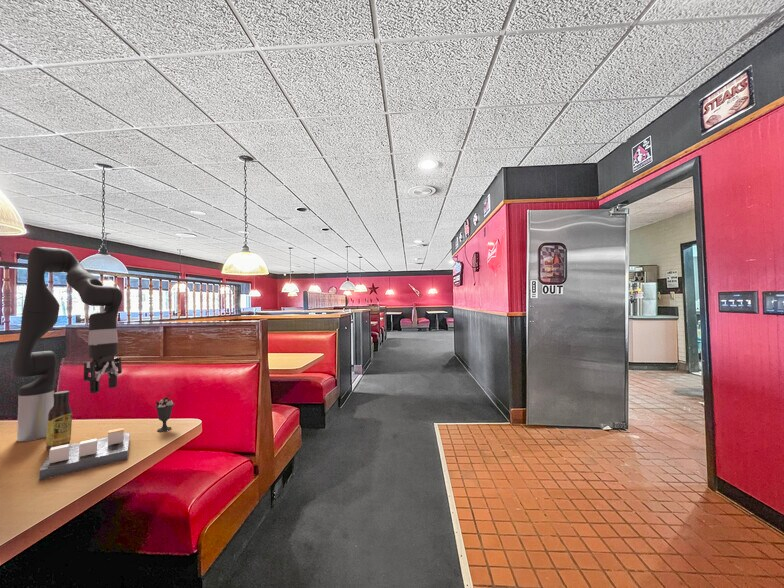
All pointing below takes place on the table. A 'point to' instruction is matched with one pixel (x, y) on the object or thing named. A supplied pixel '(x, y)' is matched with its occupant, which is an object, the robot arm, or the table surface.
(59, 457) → the right breaker handle
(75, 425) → the table surface
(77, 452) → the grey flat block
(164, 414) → the sundae
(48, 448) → the sauce bottle
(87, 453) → the handle
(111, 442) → the block
